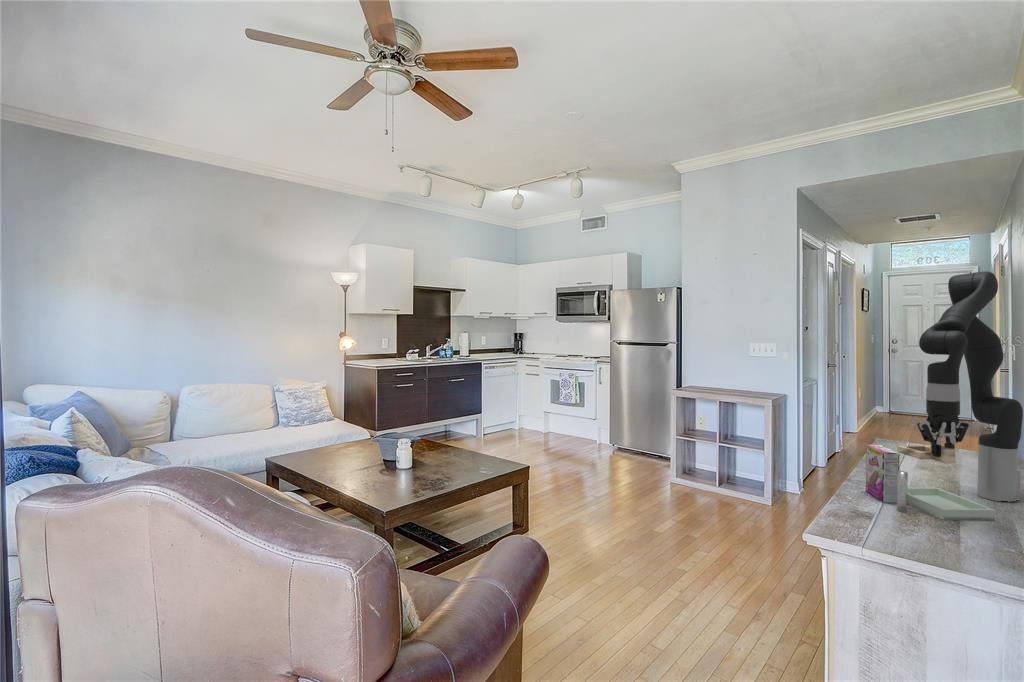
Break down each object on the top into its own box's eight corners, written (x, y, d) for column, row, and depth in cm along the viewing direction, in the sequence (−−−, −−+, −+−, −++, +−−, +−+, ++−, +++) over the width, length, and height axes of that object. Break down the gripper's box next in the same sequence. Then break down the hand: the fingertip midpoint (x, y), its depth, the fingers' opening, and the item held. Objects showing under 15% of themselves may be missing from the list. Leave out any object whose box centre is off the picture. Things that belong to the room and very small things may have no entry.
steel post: (902, 509, 152) (903, 470, 151) (908, 512, 149) (909, 473, 149) (894, 509, 152) (895, 470, 151) (900, 512, 149) (901, 473, 149)
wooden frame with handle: (897, 452, 157) (897, 439, 157) (925, 451, 157) (925, 438, 157) (934, 463, 143) (934, 450, 143) (965, 462, 143) (965, 449, 143)
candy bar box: (864, 491, 168) (865, 444, 168) (880, 492, 167) (881, 444, 167) (881, 503, 157) (883, 452, 157) (899, 504, 156) (900, 453, 156)
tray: (936, 496, 163) (937, 487, 163) (995, 520, 143) (995, 510, 143) (891, 496, 163) (891, 487, 163) (942, 519, 143) (943, 509, 143)
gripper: (955, 395, 148) (955, 452, 149) (908, 397, 149) (908, 453, 149) (978, 399, 141) (978, 459, 141) (929, 401, 141) (929, 460, 142)
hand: (942, 456), depth 145 cm, fingers closed on wooden frame with handle, 3 cm apart
